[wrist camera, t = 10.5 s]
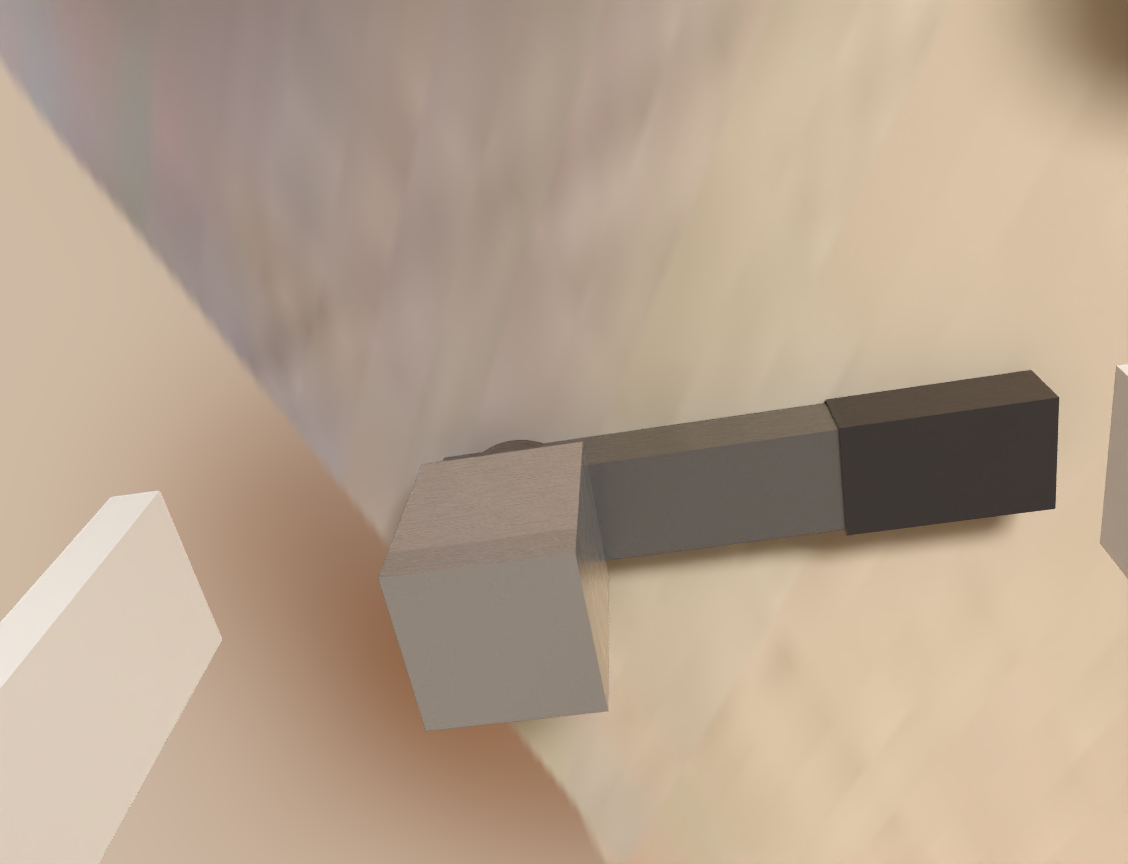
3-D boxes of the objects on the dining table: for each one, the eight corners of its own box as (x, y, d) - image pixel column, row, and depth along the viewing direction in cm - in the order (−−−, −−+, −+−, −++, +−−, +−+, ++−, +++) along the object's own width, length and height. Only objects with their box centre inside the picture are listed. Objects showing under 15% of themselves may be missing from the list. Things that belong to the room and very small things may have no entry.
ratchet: (469, 553, 44) (446, 645, 38) (442, 450, 41) (413, 530, 36) (1028, 480, 41) (1098, 566, 35) (1031, 365, 39) (1105, 437, 33)
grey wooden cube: (421, 464, 39) (377, 578, 32) (582, 441, 38) (575, 552, 31) (458, 598, 42) (425, 731, 34) (609, 579, 41) (608, 711, 34)
